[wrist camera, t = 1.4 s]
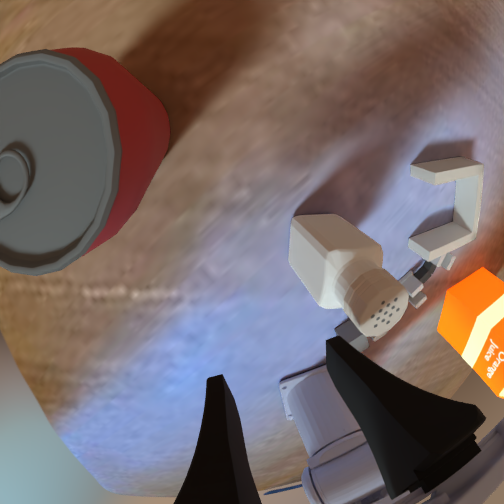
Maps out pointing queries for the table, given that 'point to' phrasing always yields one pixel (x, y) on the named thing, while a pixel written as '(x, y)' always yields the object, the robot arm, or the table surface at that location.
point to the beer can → (72, 154)
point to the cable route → (358, 338)
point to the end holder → (464, 205)
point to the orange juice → (477, 325)
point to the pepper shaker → (346, 272)
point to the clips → (420, 284)
